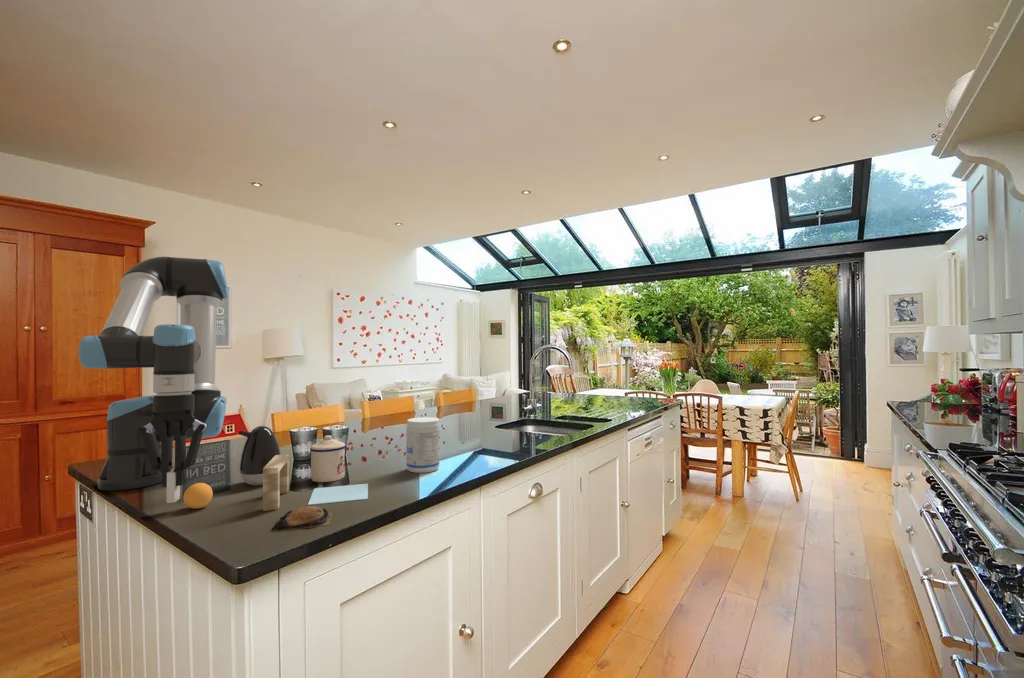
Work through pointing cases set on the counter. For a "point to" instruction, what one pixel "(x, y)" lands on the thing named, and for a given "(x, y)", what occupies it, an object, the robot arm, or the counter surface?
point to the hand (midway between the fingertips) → (173, 500)
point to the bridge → (275, 481)
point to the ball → (198, 495)
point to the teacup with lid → (327, 460)
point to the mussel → (303, 518)
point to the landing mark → (339, 494)
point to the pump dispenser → (257, 454)
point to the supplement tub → (422, 444)
